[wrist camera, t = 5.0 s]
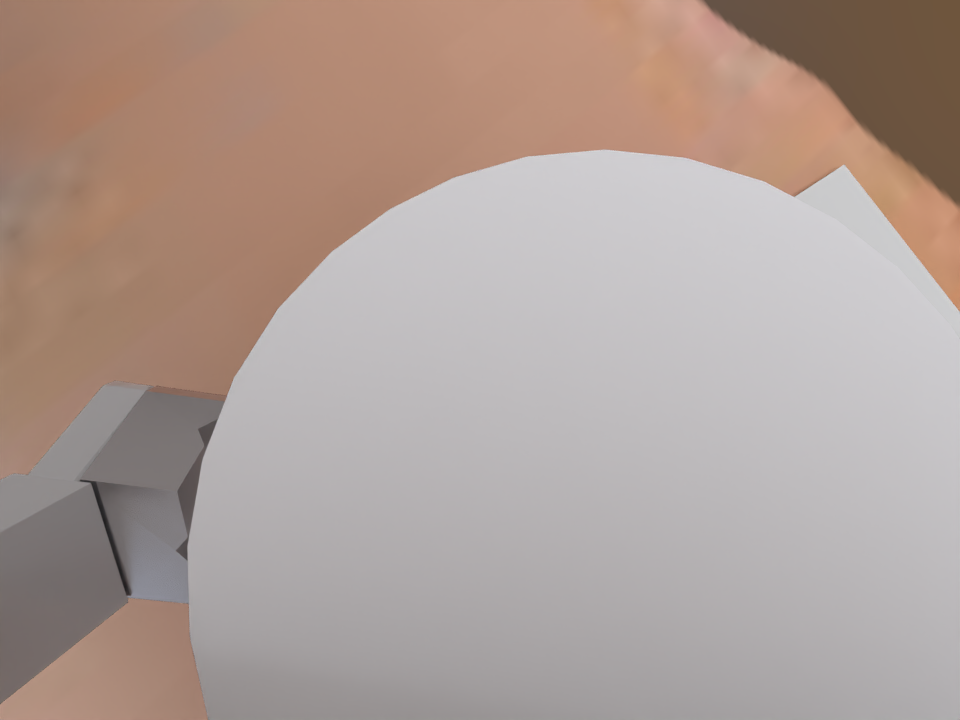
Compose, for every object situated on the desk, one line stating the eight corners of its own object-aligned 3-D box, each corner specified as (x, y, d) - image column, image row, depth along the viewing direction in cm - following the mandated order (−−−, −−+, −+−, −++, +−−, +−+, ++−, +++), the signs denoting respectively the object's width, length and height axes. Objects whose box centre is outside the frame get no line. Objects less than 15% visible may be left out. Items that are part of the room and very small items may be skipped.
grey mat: (614, 315, 32) (617, 311, 31) (835, 172, 33) (844, 164, 32) (781, 555, 30) (790, 557, 30) (1010, 395, 31) (1023, 393, 31)
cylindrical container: (393, 471, 31) (37, 422, 6) (536, 379, 32) (712, 13, 7) (485, 620, 30) (485, 1249, 5) (631, 523, 31) (1230, 690, 6)
